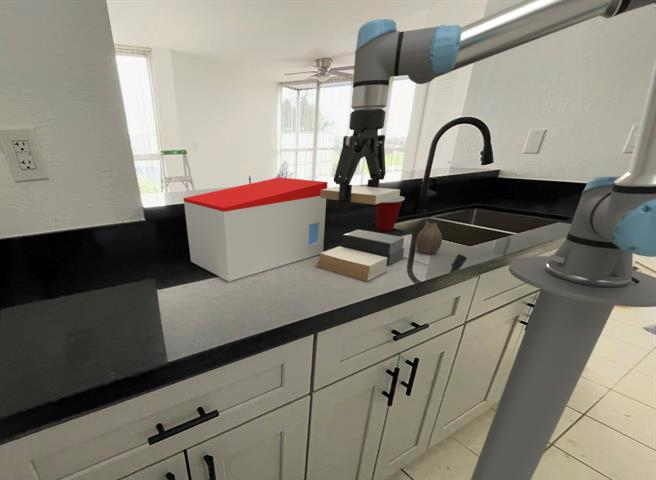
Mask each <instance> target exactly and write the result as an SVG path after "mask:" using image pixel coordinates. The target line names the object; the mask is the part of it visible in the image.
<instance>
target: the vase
mask: <svg viewBox="0 0 656 480" xmlns="http://www.w3.org/2000/svg"><path fill="white" fill-rule="evenodd" d="M442 243H443V234H442V233H441V230H440V229H439V227H438V224H437V223H436V222H427V224H426V225H425V226H424V227H423V228H422V229H421V230H420V231H419V232H418V233H417V235H416V238H415V247H416V249H417V251H418V252H419V253H420V254H423V255H433V254H435V253H436V252H438V251H439V250H440V248H441V246H442Z"/></svg>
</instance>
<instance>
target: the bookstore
mask: <svg viewBox="0 0 656 480" xmlns="http://www.w3.org/2000/svg"><path fill="white" fill-rule="evenodd" d="M322 189H328V181H322V180H320V181H319V180H311V179H302V178H301V179H300V178H289V177H279V176H278V177H275V178H271V179H266V180H265V179H264V180H261V181H257V182H251V183H247V184H241V185H238V186H233V187H229V188H223V189H219V190H215V191H210V192H205V193H201V194H200V193H199V194H195V195H191V196H187V197H183V205H184V214H185V222H186V231H187V239H188V247H189V256H190V262H191V263H193V264H195V265H197V266H198V267H200V268H202V269H204V270H206V271H208V272H210V273H212V274H214V275H215V276H218V277H219V278H221V279H223V280H225V281H227V282H231V281H236V280H238V279H242V278H244V277H248V276H251V275H254V274H258V273H261V272H265V271H268V270H271V269H274V268H279V267H281V266H285V265H288V264H292V263H295V262H298V261H302V260H305V259H308V258H312V257H315V256H318V255H319V256H320V253H322V252H324V243H325V241H324V240H325V227H326V225H325V224H326V208H327V199H325V198H320V195H321V190H322Z"/></svg>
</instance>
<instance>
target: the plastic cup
mask: <svg viewBox="0 0 656 480" xmlns="http://www.w3.org/2000/svg"><path fill="white" fill-rule="evenodd" d="M405 199H406V198H405V197H404V196H402V195H399V198H398V199H394V200H390V201H386V202H382V203H379V204H376V207H375V222H376V230H377V231H380V232H392V231H393V230H394V228H395V225H396V222H397V220H398V216H399V213H400V211H401V208H402V205H403V202H404V201H405Z"/></svg>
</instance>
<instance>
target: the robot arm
mask: <svg viewBox="0 0 656 480" xmlns="http://www.w3.org/2000/svg"><path fill="white" fill-rule="evenodd" d="M653 4H654V10H656V0H523V1H520V2H518V3H515V4H513V5H510V6H508V7H506V8H504V9H500V10H498V11H497V12H494V13H492V14H489V15H487V16H485V17H483V18H480V19H478V20H475V21H473V22H470V23H469V24H466V25H464V26H460V25H459V24H451V25H449V24H448V25H445V24H440V25H439V26H432V27H425V28H419V29H417V28H416V29H412V30H403V31H402V30H401V31H399V30H397V22H396V21H395V20H393V19H390V18H385V19H382V18H378V19H373V20H369V21H367V22H365V23H363V24H362V25H361V26H360V27H359V29H358V32H357V40H356V47H355V51H354V65H353V66H354V68H353V81H352V95H351V105H350V108H351V109H352V110H353V111H351V113H350V114H349V123H348V124H349V127H348V128H349V130H351V131H353V132H352V135H344V136H343V138H342V148H341V151H340V154H339V159H338V162H337V165H336V169H335V173H334V176H333V182H334V183H335V185H339V186H340V188H339V200H338V207H337V213H338V214H344V215H345V214H346V215H349V214H350V210H351V202H350V201H351V191H352V185H353V184H351V182H352V179H353V178H354V174H355V172H356V170H357V168H358V165H359V163H360V161H361V160H362V159H363V158H365V161H366V165H367V170H368V173H369V177H370V179H367V186H366V187H376V188H380V180H382V181H383V180H385V176H386V174H387V172H386V153H385V144H386V143H385V142H386V135H385V134H379V130H382V129H383V128H384V127H385V120H386V113H387V111H386V110H385V109H384V108H387V106H388V97H389V89H390V87H389V86H390V79H391V77H402V76H404V77H405V76H407V78H408V79H409V80H410V81H411V82H413V83H415V84H417V85H423V84H424V85H425V84H428V83H430V82H432V81H433V80H435V79H436V78H438V77H441V76H444V75H446V74H449V73H451V72H453V71H456V70H458V69H462V68H464V67H468V66H470V65H472V64H475V63H478V62H480V61H483V60H485V59H488V58H490V57H493V56H496V55H499V54H501V53H505V52H506V51H507V52H508V51H510V50H512V49H515V48H517V47H520V46H523V45H525V44H528V43H530V42H534V41H536V40H539V39H541V38H543V37H547V36H549V35H552V34H555V33H556V32H557V33H558V32H560V31H562V30H566V29H568V28H570V27H572V26H573V27H574V26H575V25H578V24H580V23H584V22H587V21H589V20H591V19H594V18H597V17H602V18H604V19H610V18H613V17H617V16H619V15H621V14H625V13H627V12H631V11H634V10H636V9H640V8H644V7H646V6H650V5H653ZM636 133H637V134H636V137H635V142H634V146H633V149H632V154H631V158H630V162H629V166H628V170H627V171H626V173H624V174H622V175H620V176H596V177H592V178H591V179H589V180H588V181H587V183H586V185H585V187H584V189H583V190H582V192H581V195H580V196H581V197H580V199H579V202H578V205H577V207H576V210H575V213H574V216H573V218H572V221H571V224H570V226H569V229H568V232H567V234H566V238H565V240H564V241H563V242H562V244H561V245H560V246H559V248H558V249H557V250H556V251H555V252H554V254H550V255H549V256H550V258H549V261H548V262H547V264H546V267H545V271H546V272H547V273H548V274H550V275H552V276H554V277H556V278H559V279H562V280H565V281H568V282H572V283H576V284H581V285H587V286H593V287H602V288H620V287H625V286H628V285H629V283H630V281H631V280H632V281H633V282H635V283H639V282H640V281H639V280H638V279H636V278H634V277H633V276H632V275H633V270H634V268H633V267H634V266H633V263H634V261H633V255H637V256H641V257H648V258H656V57H655V59H654V63H653V67H652V70H651V75H650V80H649V84H648V88H647V92H646V96H645V100H644V104H643V107H642V112H641V117H640V120H639V125H638V129H637V132H636ZM364 204H365V203H364ZM364 206H365V207H372V208H376V204H375V205H372V204H365V205H364Z"/></svg>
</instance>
